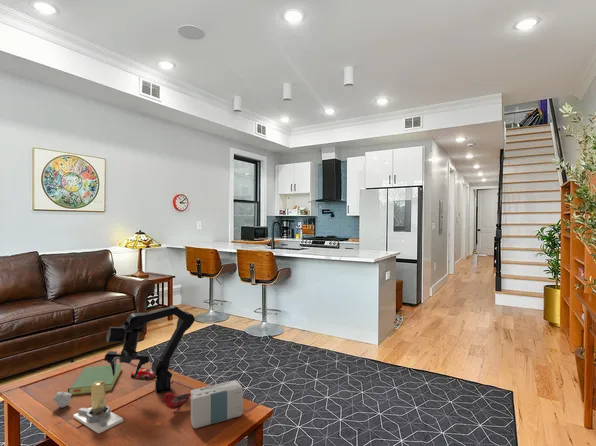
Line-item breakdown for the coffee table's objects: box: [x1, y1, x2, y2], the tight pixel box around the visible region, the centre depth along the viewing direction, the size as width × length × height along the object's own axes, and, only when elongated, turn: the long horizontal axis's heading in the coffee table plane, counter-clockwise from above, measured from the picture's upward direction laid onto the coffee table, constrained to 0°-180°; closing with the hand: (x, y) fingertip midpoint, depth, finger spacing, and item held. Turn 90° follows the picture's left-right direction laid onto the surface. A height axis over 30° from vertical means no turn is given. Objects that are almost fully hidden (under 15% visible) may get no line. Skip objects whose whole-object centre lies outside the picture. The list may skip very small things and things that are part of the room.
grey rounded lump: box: [53, 391, 72, 409], centre depth 158 cm, size 6×7×7 cm
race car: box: [130, 368, 157, 380], centre depth 188 cm, size 13×5×4 cm, turn 78°
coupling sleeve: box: [90, 381, 107, 416], centre depth 148 cm, size 5×5×14 cm
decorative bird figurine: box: [161, 392, 191, 414], centre depth 156 cm, size 3×18×10 cm, turn 139°
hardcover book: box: [67, 363, 123, 396], centre depth 182 cm, size 25×19×4 cm
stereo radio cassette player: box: [190, 365, 244, 429], centre depth 149 cm, size 21×8×20 cm, turn 119°
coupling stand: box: [73, 405, 124, 434], centre depth 149 cm, size 10×20×4 cm, turn 57°
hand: (124, 376), depth 163 cm, fingers open, 9 cm apart
